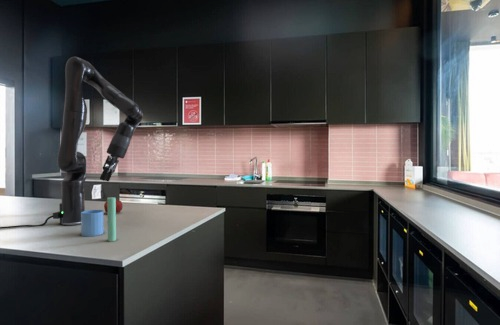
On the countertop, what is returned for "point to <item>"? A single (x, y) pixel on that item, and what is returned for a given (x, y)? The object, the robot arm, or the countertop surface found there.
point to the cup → (92, 223)
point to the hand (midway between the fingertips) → (104, 180)
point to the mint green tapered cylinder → (111, 218)
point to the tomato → (118, 206)
